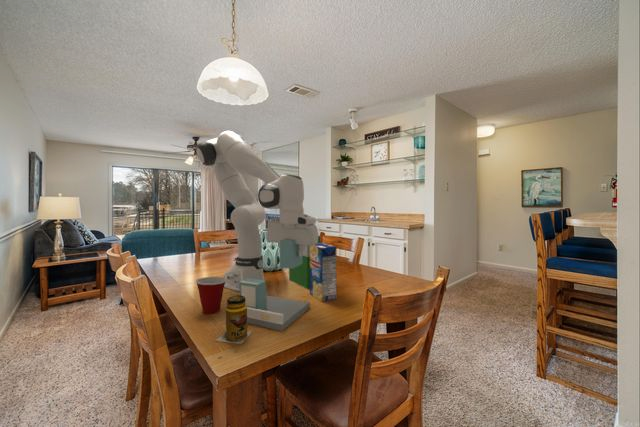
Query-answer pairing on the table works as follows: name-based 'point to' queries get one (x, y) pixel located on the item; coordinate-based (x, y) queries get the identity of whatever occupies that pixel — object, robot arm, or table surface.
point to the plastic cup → (211, 293)
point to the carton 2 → (289, 254)
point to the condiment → (235, 321)
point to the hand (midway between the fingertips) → (291, 255)
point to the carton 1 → (253, 293)
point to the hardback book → (302, 269)
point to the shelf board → (277, 313)
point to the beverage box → (323, 271)
